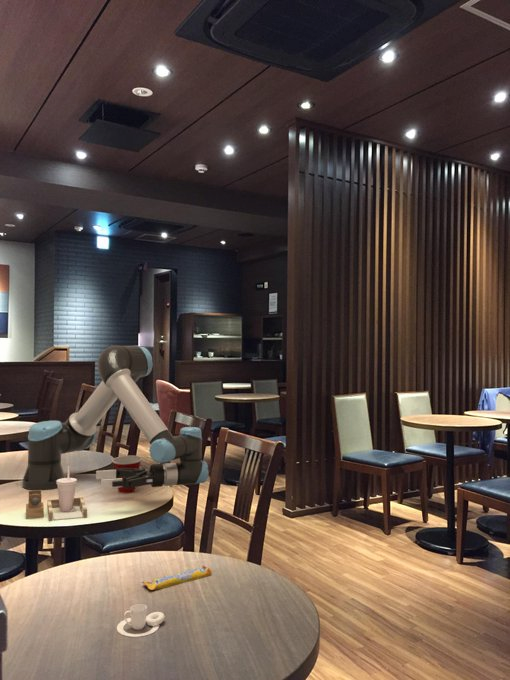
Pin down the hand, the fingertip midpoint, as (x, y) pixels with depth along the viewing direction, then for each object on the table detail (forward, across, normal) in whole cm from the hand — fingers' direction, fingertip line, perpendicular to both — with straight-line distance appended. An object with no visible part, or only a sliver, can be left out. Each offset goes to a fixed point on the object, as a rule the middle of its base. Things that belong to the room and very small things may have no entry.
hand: (98, 479), depth 188 cm
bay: (+10, -2, -9) cm, 14 cm away
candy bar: (-11, -65, -10) cm, 66 cm away
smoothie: (+10, 0, -9) cm, 14 cm away
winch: (+19, -2, -9) cm, 22 cm away
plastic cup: (-12, +19, -9) cm, 24 cm away
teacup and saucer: (0, -86, -10) cm, 86 cm away
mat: (+10, -7, -9) cm, 15 cm away
